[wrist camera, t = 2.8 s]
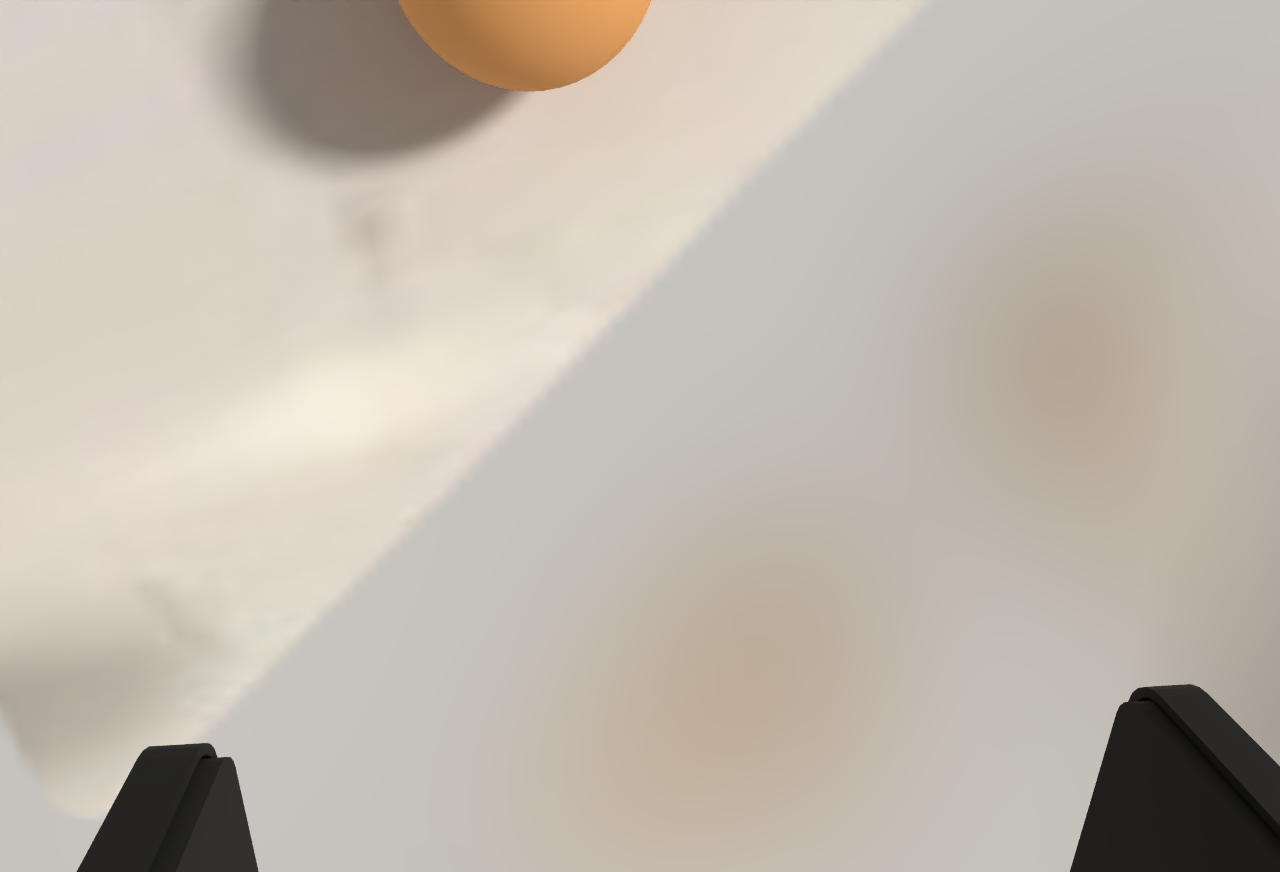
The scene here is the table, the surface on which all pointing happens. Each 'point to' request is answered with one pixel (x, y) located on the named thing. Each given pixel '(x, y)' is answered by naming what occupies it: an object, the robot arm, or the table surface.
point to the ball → (526, 37)
